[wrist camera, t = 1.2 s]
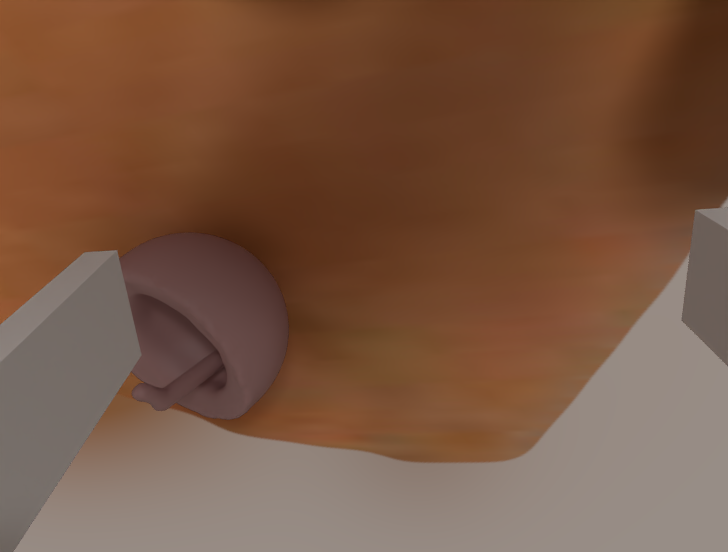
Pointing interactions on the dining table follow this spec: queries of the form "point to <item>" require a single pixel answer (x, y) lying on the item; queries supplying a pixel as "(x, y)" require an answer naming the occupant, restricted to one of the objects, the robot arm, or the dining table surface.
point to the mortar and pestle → (204, 324)
